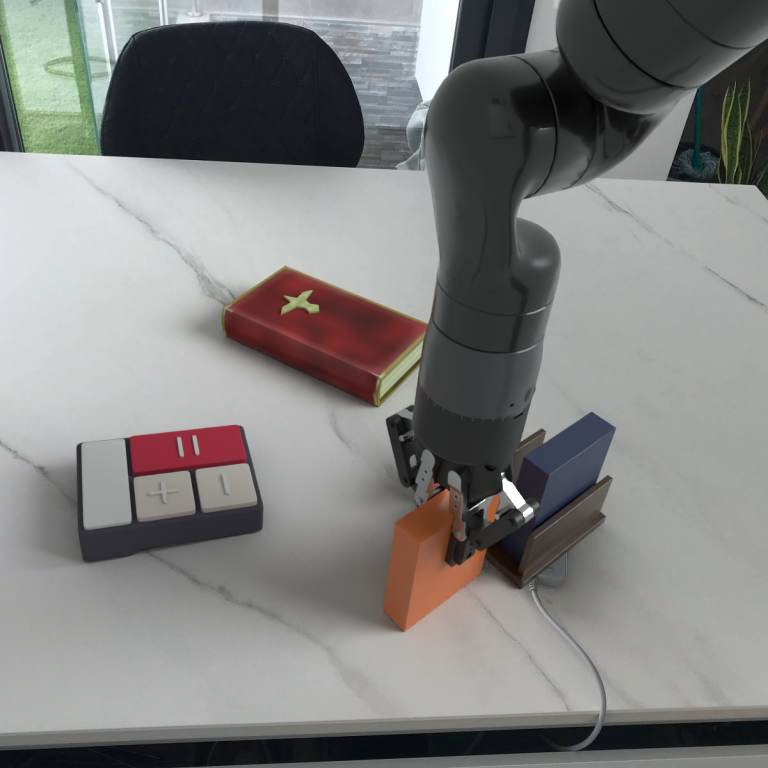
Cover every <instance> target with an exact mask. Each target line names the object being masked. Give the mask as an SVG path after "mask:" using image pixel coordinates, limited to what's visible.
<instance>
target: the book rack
mask: <svg viewBox="0 0 768 768" xmlns="http://www.w3.org/2000/svg"><path fill="white" fill-rule="evenodd" d="M546 435H547V430H546V429H544V428H543V427H541V428H540V429H538V430H536V431H535V432H534V433H531V434H530V435H528V436H527V437H526V438H524V439H523V440H521V441H520V444H519V446H518V448H517V450H516V452H515V455H514V457H513V468H514V473H515V477H514V481H513V483H512V484H513V485H514V487H515V488H516V484H517V480H518V477H519V473H520V469H521V465H522V462H523V458H524V456H526V455H527V454H529V453H530V452H532V451H533V450H535V449H536V448H538V447H539V446H541V445H542V444H544V443H545V442H544V441H545V437H546ZM613 480H614V478H613V477H612V476H610V475H609V474H607V475H606V476H604V477H603V478H601V479H600V480H599V481H597V482H596V484H595V485H594V486H592V487H591V488H590V489H588V490H587V491H586V492H584V493H583V494H582V495H581V496H579V497H578V498H577V499H575V500H574V501H573V502H571V503H570V504H569V505H567V506H566V507H565V508H563V509H562V510H561V511H559V512H558V513H557V514H555V515H554V516H553V517H551V518H550V519H549V520H547V521H546V522H545V523H544V524H542V525H541V526H540V527H538V528H537V529H536V530H534V531H533V532H532V533H530V534H529V536H528V539H527V542H526V546H525V549H524V552H523V556H522V559H521V562H520V561H518V560H517V559H516V558H515V557H514V556H512V555H511V554H510V553H509V552H508V551H507V550H505V549H504V548H503V547H502V546H501V545H500V543H501V540H499V541H498V542H496V543H494V544H493V545H491V546H490V547H488V548H487V550H486V554H485V558H484V559H486V560H487V561H488V562H489V563H491V564H492V565H493V566H494V567H495V568H496V569H498V570H499V572H501V573H502V574H503V575H504V576H505V577H507V578H508V580H510V581H511V582H512V583H513V584H515V586H517V587H518V588H519V589H521V590H522V589H524V587H526V586H527V585H528V584H530V583H531V582H532V581H533V580H534V579H536V578H537V577H538V576H540V575H541V574H542V573H543V572H544V571H546V570H547V569H548V568H549V567H551V566H552V565H553V564H554V563H556V562H557V561H558V560H559V559H561V558H562V557H563V556H564V555H565V554H566V553H568V552H569V551H570V550H572V549H573V548H574V547H575V546H577V545H578V544H579V543H580V542H581V541H582V540H584V539H585V538H586V537H588V536H589V535H590V534H591V533H592V532H594V531H595V530H596V529H598V528H599V527H600V526H602V524H604V523H605V521H606V519H607V515H606V514H604V513H603V512H601V511H602V508H603V506H604V503H605V500H606V498H607V495H608V493H609V491H610V487H611V485H612V483H613ZM496 512H498V511H496ZM495 520H496V519H494V521H495Z"/></svg>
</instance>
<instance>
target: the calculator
mask: <svg viewBox="0 0 768 768" xmlns="http://www.w3.org/2000/svg"><path fill="white" fill-rule="evenodd" d="M75 453H76V455H75V456H76V457H75V458H76V459H75V460H76V500H77V501H76V504H77V505H76V506H77V507H76V509H77V535H78V540H79V546H80V552H81V557H82V560H83V562H85V563H93V562H99V561H105V560H111V559H118V558H124V557H125V558H126V557H130V556H132V555H134V554H135V553H137V552H139V551H141V550H145V549H154V548H159V547H165V546H171V545H178V544H185V543H192V542H197V541H204V540H211V539H216V538H224V537H230V536H237V535H243V534H248V533H255V532H260V531H262V529H263V526H264V503H263V502H264V501H263V497H262V494H261V490H260V486H259V482H258V479H257V476H256V472H255V471H256V470H255V467H254V463H253V460H252V455H251V452H250V447H249V444H248V439H247V435H246V432H245V429H244V426H242V425H240V424H239V425H238V424H227V425H217V426H211V427H210V426H209V427H202V428H201V427H200V428H191V429H182V430H175V431H173V430H172V431H164V432H163V431H162V432H156V433H145V434H136V435H132V436H131V435H130V437H129V436H128V437H121V438H120V437H119V438H112V439H103V440H93V441H84V442H79V443H77V445H76V450H75Z"/></svg>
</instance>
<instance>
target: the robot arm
mask: <svg viewBox="0 0 768 768" xmlns="http://www.w3.org/2000/svg"><path fill="white" fill-rule="evenodd" d="M554 27H555V30H554V31H555V38H556V44H557V46H555V47H554V48H552V49H547V50H540V51H531V52H524V53H516V54H508V55H500V56H499V55H498V56H491V57H490V56H489V57H484V58H483V57H482V58H477V59H473V60H469V61H467V62H463V63H462V64H460V65H459V66H457V67H456V68H454V69H453V70H451V71H450V72H448V75H446V76H445V77H444V79H443V80H442V82H441V83H440V85H438V87H437V89H436V91H435V93H434V95H433V97H432V99H431V101H430V104H429V107H428V110H427V113H426V115H425V120H424V127H423V152H424V160H425V167H426V172H427V178H428V184H429V190H430V196H431V202H432V203H431V204H432V210H433V218H434V225H435V226H434V227H435V234H436V241H437V247H438V265H437V268H436V269H437V270H436V277H435V283H434V290H433V296H432V303H431V304H432V305H431V311H430V316H429V320H428V326H427V329H426V332H425V336H424V340H423V345H422V352H421V359H420V365H419V366H418V373H417V383H416V387H415V395H414V403H413V404H410V405H409V406H406V407H405V408H403V409H401V410H399V411H397V412H395V413H393V414H392V415H390V416H387V417H386V418H385V426H386V429H387V435H388V438H389V442H390V446H391V449H392V454H393V458H394V462H395V467H396V471H397V475H398V478H399V482H400V484H401V485H402V486H403V487H404V488H405V489H409V488H411V489H412V490H413V491H414V497H413V498H414V501H415V503H416V508H417V507H419V506H420V505H422V504H424V503H425V502H427V501H428V500H430V499H431V498H433V497H434V496H436V495H437V494H439V493H440V492H442V491H444V490H445V489H447V490H448V491H449V492H450V496H449V513H451V514H452V515H453V528H452V531H453V532H451V533H450V538H449V543H448V548H447V552H446V557H445V562H446V563H447V564H448V565H449V566H451V567H453V566H455V565H456V564H458V565H459V566H460V565H461V564H462V563H464V562H465V561H466V560H468V559H469V558H471V557H472V556H473V555H474V554H475V549H477V550H478V551H483V550H485V549H486V548H488V547H490V546H491V545H493V544H494V543H496V542H498V541H499V540H501V539H502V538H504V537H506V536H507V535H509V534H511V533H512V532H514V531H515V530H517V529H518V528H520V527H521V526H522V525H524V524H525V523H526V522H528V521H529V520H530V519H532V518H533V517H534V516H536V515H537V514H538V513H540V511H541V507H540V505H539V503H538V502H537V501H536V500H535V499H534V498H528V499H527V500H524V499H523V498H522V496H521V495H520V493H519V492H518V491H517V489H516V488H515V487H514V485H513V484H512V483H513V481H514V477H515V473H514V468H513V457H514V455H515V452H516V450H517V448H518V446H519V444H520V442H521V441H522V439H523V434H524V430H525V428H526V427H525V426H526V423H527V420H528V415H529V411H530V408H531V404H532V400H533V397H534V394H535V392H536V389H537V381H538V378H539V374H540V370H541V365H542V360H543V353H544V343H545V342H544V341H545V337H546V336H545V335H546V332H547V327H548V323H549V320H550V317H551V313H552V309H553V305H554V301H555V298H556V297H555V296H556V293H557V289H558V286H559V285H558V284H559V280H560V275H561V269H562V253H561V248H560V247H559V244H558V241H557V240H556V238H555V237H554V236H553V234H552V233H550V232H549V230H547V229H546V228H544V227H543V226H541V225H540V224H539V223H536V222H533V221H531V220H528V219H525V218H522V217H518V212H519V209H520V207H521V204H522V202H523V200H528V199H532V198H537V197H541V196H545V195H548V194H553V193H557V192H561V191H566V190H570V189H574V188H577V187H580V186H582V185H586V184H588V183H590V182H593V181H594V180H596V179H598V178H600V177H601V176H603V175H605V174H607V173H608V172H610V171H611V170H613V169H614V168H616V167H618V166H620V164H622V163H623V162H625V161H626V160H627V159H628V158H629V157H631V156H632V154H634V153H635V152H636V151H637V150H638V149H639V148H640V146H642V144H643V143H644V142H645V141H646V140H647V139H648V138H649V137H650V136H651V135H652V134H653V133H654V132H655V131H656V130H657V128H658V127H659V126H660V125H661V124H662V123H663V122H664V121H665V120H666V119H667V117H668V116H669V115H670V114H671V113H672V111H673V110H674V108H675V107H676V106H677V104H678V103H679V102H680V100H681V99H683V98H685V97H687V96H688V95H690V94H692V93H693V92H695V91H696V90H697V89H699V88H701V87H702V86H703V85H705V84H707V82H709V81H710V80H713V78H715V77H716V76H717V75H718V74H720V73H721V72H723V71H724V70H726V69H727V68H728V67H730V66H731V65H732V64H734V63H735V62H737V61H738V60H739V59H741V58H742V57H743V56H745V55H746V54H748V53H749V52H750V51H752V50H753V49H754V48H756V47H757V46H759V45H760V44H761V43H763V42H764V41H766V40H767V39H768V0H559V2H558V6H557V10H556V15H555V25H554ZM413 456H414V458H415V462H416V464H415V465H413V466H411V465H412V464H411V460H410V459H411V458H412V457H413ZM496 494H497V495H498V497H499V504H498V506H497V511H498V512H496V513H495V514H494V517H495V519H496V520H495V521H494V522H490V521H488V520H487V513H488V506H489V504H490V503H491V501H492V499H493V495H496Z"/></svg>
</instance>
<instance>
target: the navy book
mask: <svg viewBox="0 0 768 768" xmlns="http://www.w3.org/2000/svg"><path fill="white" fill-rule="evenodd" d="M616 430H617V426H614V425H613V424H611V423H610V422H608V421H607V420H605V419H604V418H602V417H601V416H600V415H598V414H597V413H595V412H593V411H590V412H589V413H587V414H586V415H584V416H583V417H581V418H580V419H578V420H576V421H575V422H574V423H572V424H570V425H569V426H567V427H566V428H564V429H563V430H561V431H560V432H558V433H557V434H555V435H554V436H552V437H551V438H550V439H548V440H547V441H545V442H543V444H542V445H541V446H539V447H538V448H536V449H535V450H533V451H532V452H530V453H529V454H527V455H526V456H524V458H523V462H522V465H521V469H520V473H519V477H518V480H517V484H516V489H517V491H518V492H519V493H520V495H521V496H522V498H523V499H524V500H527V499H528V498H534V499H535V500H536V501H537V502H538V503H539V505H540V507H541V511H540V513H538V514H537V515H536V516H534V517H533V518H532V519H530V520H529V521H528V522H526V523H525V524H524V525H522V526H521V527H520V528H518V529H517V530H515V531H514V532H512V533H511V534H509V535H507V536H506V537H504V538H502V539H501V543H500V545H501V546H502V547H503V548H504V549H505V550H507V551H508V552H509V553H510V554H511V555H512V556H514V557H515V558H516V559H517V560H518V561H520V562H521V559H522V556H523V552H524V549H525V546H526V542H527V539H528V536H529V534H530V533H532V532H533V531H534V530H536V529H537V528H538V527H540V526H541V525H542V524H544V523H545V522H546V521H547V520H549V519H550V518H551V517H553V516H554V515H555V514H557V513H558V512H559V511H561V510H562V509H563V508H565V507H566V506H567V505H569V504H570V503H571V502H573V501H574V500H575V499H577V498H578V497H579V496H581V495H582V494H583V493H584V492H586V491H587V490H588V489H590V488H591V487H592V486H594V485H595V484H596V483H598V479H599V476H600V475H601V471H602V469H603V466H604V463H605V460H606V457H607V455H608V452H609V449H610V446H611V444H612V441H613V438H614V436H615V433H616Z"/></svg>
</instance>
